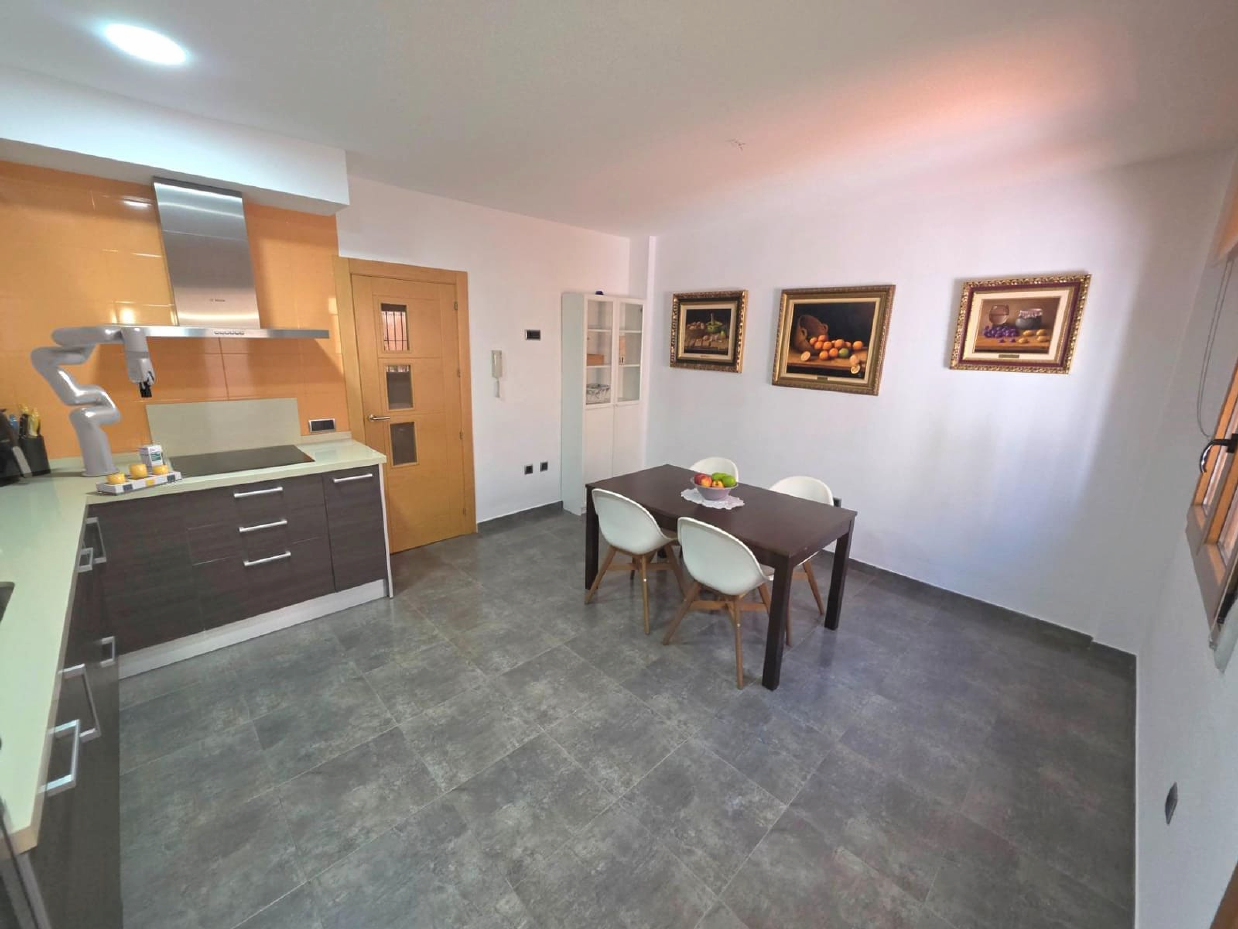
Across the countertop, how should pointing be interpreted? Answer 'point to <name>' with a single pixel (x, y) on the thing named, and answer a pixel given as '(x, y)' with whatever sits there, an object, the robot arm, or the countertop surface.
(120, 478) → the button near
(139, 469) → the button mid
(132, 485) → the console
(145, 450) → the syrup box
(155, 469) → the button far
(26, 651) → the countertop surface
